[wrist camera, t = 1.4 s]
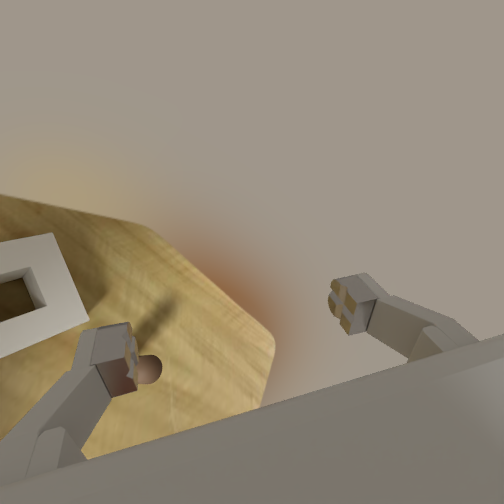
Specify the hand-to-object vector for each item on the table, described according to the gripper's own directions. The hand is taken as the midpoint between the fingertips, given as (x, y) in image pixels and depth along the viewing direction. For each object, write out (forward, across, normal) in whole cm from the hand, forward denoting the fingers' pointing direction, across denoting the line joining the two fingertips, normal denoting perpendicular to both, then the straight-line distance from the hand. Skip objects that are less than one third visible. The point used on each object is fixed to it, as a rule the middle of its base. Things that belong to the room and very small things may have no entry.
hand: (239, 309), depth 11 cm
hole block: (+26, +24, +17) cm, 39 cm away
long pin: (+22, +14, +29) cm, 39 cm away
